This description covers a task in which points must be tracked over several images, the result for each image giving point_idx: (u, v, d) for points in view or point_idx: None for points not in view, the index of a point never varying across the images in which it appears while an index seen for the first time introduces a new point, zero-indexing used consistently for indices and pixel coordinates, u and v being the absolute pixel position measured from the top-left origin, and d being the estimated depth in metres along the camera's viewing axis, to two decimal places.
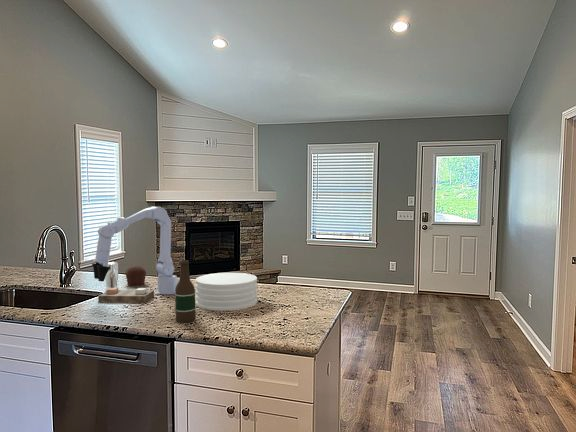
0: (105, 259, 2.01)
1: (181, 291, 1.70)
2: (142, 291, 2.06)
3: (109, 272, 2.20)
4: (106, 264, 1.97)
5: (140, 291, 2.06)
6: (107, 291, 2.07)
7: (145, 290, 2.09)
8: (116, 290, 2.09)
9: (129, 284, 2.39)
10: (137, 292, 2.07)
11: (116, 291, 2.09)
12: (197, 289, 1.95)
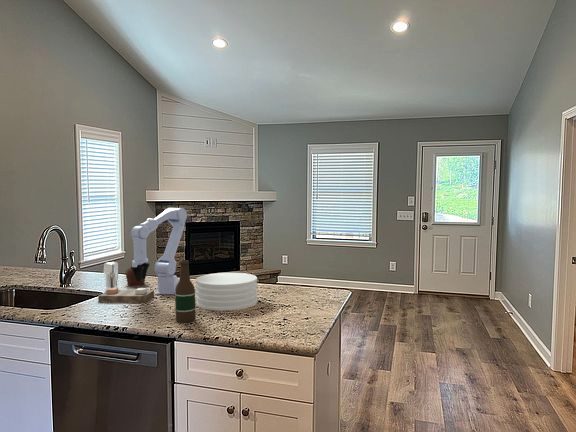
0: (139, 260, 2.05)
1: (181, 291, 1.70)
2: (142, 291, 2.06)
3: (109, 272, 2.20)
4: (134, 265, 2.00)
5: (140, 291, 2.06)
6: (107, 291, 2.07)
7: (145, 290, 2.09)
8: (116, 290, 2.09)
9: (129, 284, 2.39)
10: (137, 292, 2.07)
11: (116, 291, 2.09)
12: (197, 289, 1.95)
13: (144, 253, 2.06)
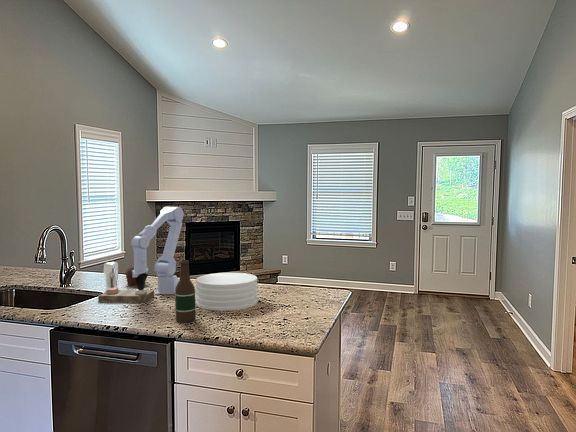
0: (140, 270, 2.05)
1: (181, 291, 1.70)
2: (142, 292, 2.06)
3: (109, 272, 2.20)
4: (135, 275, 2.01)
5: (140, 292, 2.06)
6: (107, 291, 2.07)
7: (145, 291, 2.09)
8: (116, 290, 2.09)
9: (129, 284, 2.39)
10: (137, 293, 2.07)
11: (116, 291, 2.09)
12: (197, 289, 1.95)
13: (144, 263, 2.06)
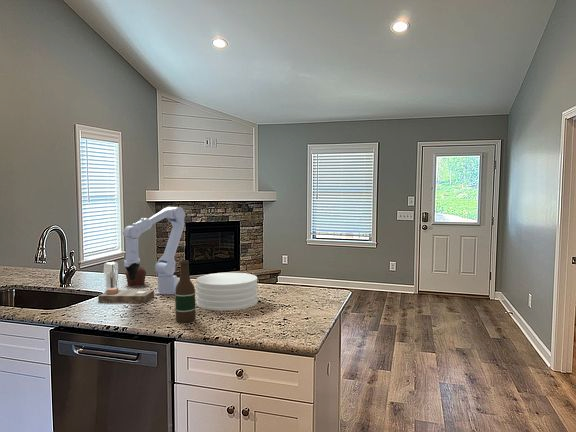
0: (131, 259, 2.05)
1: (181, 291, 1.70)
2: None
3: (109, 272, 2.20)
4: (126, 265, 2.01)
5: None
6: (107, 291, 2.07)
7: None
8: (116, 290, 2.09)
9: (129, 284, 2.39)
10: None
11: (116, 291, 2.09)
12: (197, 289, 1.95)
13: (136, 253, 2.06)
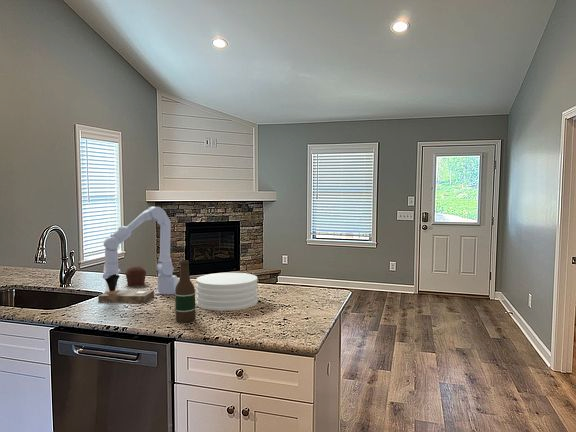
0: (110, 271, 2.06)
1: (181, 291, 1.70)
2: None
3: None
4: (105, 276, 2.02)
5: None
6: (107, 293, 2.07)
7: None
8: (116, 292, 2.09)
9: (129, 284, 2.39)
10: None
11: None
12: (197, 289, 1.95)
13: (115, 264, 2.07)
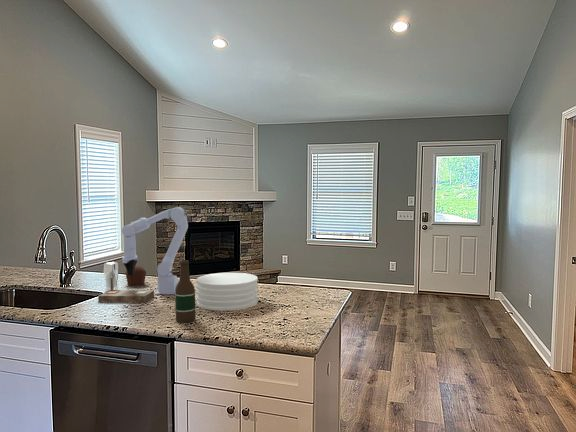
0: (129, 256, 2.17)
1: (181, 291, 1.70)
2: None
3: (109, 272, 2.20)
4: (124, 261, 2.13)
5: None
6: None
7: None
8: None
9: (129, 284, 2.39)
10: None
11: None
12: (198, 289, 1.95)
13: (134, 250, 2.18)
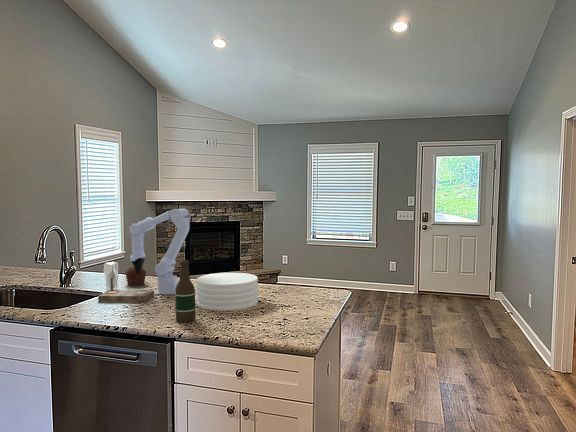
0: (137, 254, 2.22)
1: (181, 291, 1.70)
2: None
3: (109, 272, 2.20)
4: (132, 259, 2.18)
5: None
6: None
7: None
8: None
9: (129, 284, 2.39)
10: None
11: None
12: (198, 289, 1.95)
13: (141, 248, 2.23)
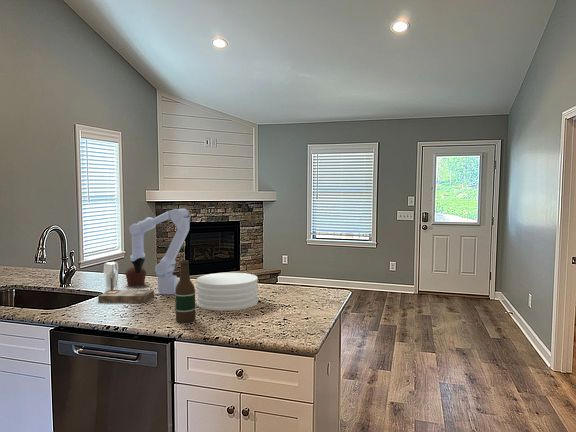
0: (137, 254, 2.22)
1: (181, 291, 1.70)
2: None
3: (109, 272, 2.20)
4: (132, 259, 2.18)
5: None
6: None
7: None
8: None
9: (129, 284, 2.39)
10: None
11: None
12: (198, 289, 1.95)
13: (141, 248, 2.23)
